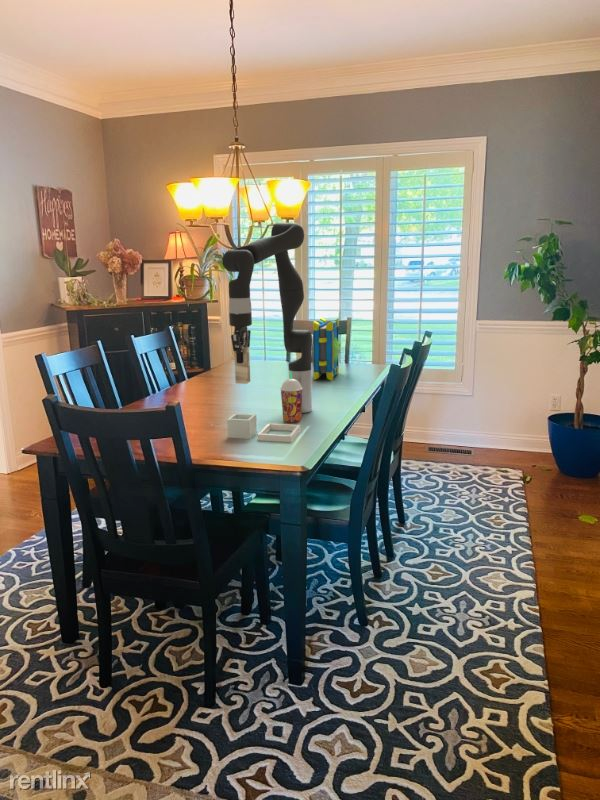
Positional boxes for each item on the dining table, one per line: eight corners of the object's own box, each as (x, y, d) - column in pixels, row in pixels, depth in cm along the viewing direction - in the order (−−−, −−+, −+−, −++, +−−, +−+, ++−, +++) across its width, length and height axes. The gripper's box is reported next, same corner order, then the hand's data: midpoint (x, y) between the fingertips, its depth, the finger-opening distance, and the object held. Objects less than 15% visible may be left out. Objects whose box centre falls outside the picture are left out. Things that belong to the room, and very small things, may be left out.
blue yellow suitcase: (343, 373, 319) (343, 317, 312) (335, 381, 297) (335, 322, 290) (317, 372, 323) (317, 317, 316) (307, 380, 301) (307, 322, 294)
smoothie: (280, 420, 228) (279, 369, 223) (302, 419, 228) (301, 369, 224) (281, 426, 220) (280, 374, 215) (304, 425, 220) (303, 373, 216)
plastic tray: (268, 431, 214) (268, 423, 213) (300, 432, 211) (300, 424, 211) (257, 442, 201) (257, 434, 200) (291, 444, 198) (291, 436, 197)
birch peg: (239, 381, 205) (237, 346, 202) (250, 381, 204) (249, 347, 201) (235, 383, 201) (234, 348, 198) (246, 383, 200) (245, 348, 197)
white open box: (235, 433, 212) (234, 413, 210) (256, 434, 210) (256, 414, 208) (228, 440, 204) (227, 419, 202) (250, 441, 202) (249, 420, 201)
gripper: (236, 309, 204) (238, 358, 208) (222, 313, 191) (224, 365, 195) (257, 309, 203) (258, 358, 207) (244, 313, 189) (246, 366, 193)
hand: (242, 361), depth 201 cm, fingers closed on birch peg, 4 cm apart
